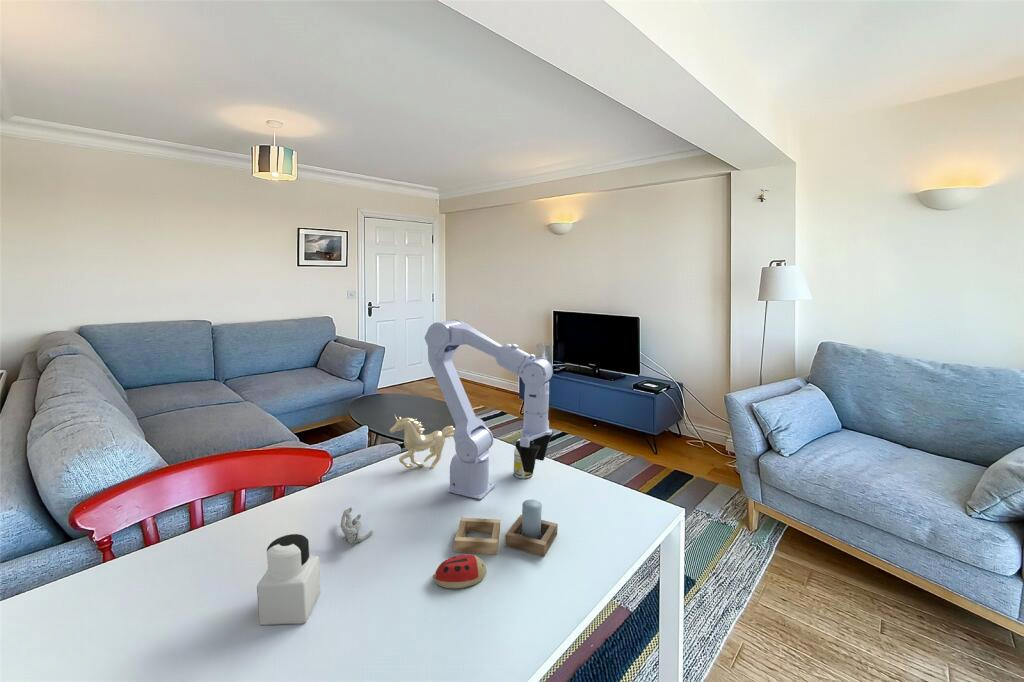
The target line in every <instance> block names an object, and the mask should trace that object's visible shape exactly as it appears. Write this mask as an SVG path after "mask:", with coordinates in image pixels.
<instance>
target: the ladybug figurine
mask: <svg viewBox="0 0 1024 682" xmlns="http://www.w3.org/2000/svg"><path fill="white" fill-rule="evenodd" d="M486 575H487V567H486V564H485V562H484V561H483V559H482V558H481V557H479V556H477V555H473V554H458V555H454V556H451V557H449V558H447V559H445V560H444V561H442V562H441V563H440V564H439V565H438V567H437V568H436V571H435V573H433V575H432V578H433V580H434V582H435V583H436V584H437V585H438V586H440V587H442V588H446V589H463V588H468V587H470V586H471V587H472V586H473V585H476V584H478V583H480V582H482V581H483V579H484V578H485V577H486Z"/></svg>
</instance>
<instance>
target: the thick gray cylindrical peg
mask: <svg viewBox="0 0 1024 682" xmlns="http://www.w3.org/2000/svg"><path fill="white" fill-rule="evenodd" d="M542 509H543V504H542V502H540V501H539V500H537V499H526V500H525V501H523V502H522V511H521V512H522V513H521V515H522V532H521V535H523V536H527V537H530V538H534V539H538V540H541V539H542V538H541V537H542V534H541V520H542V512H543V511H542Z"/></svg>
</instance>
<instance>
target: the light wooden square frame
mask: <svg viewBox="0 0 1024 682" xmlns="http://www.w3.org/2000/svg"><path fill="white" fill-rule="evenodd" d="M467 533H482V534H483V533H484V534H485V533H487V534H491V538H485V537H484V538H483V537H469V536H468V537H467V536H466V534H467ZM500 534H501V519H499V518H496V519H494V518H481V517H480V518H478V517H477V518H476V517H460V521H459V524H458V528H457V532H456V535H455V538H454V549H453V550H454V551H453V552H454V553H464V554H465V553H468V554H482V555H483V554H484V555H485V554H486V555H498V548H499V542H500Z"/></svg>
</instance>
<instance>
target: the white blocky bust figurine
mask: <svg viewBox="0 0 1024 682" xmlns="http://www.w3.org/2000/svg"><path fill="white" fill-rule="evenodd" d="M309 545H310V543H309V539H308V538H307V536H305V535H303V534H298V533H293V534H286V535H283V536H280V537H278V538H276V539H274V540H273V541H272V542H271V543H270V544H269V545H268V546H267V548H266V559H267V561H266V562H267V570H266V571H265V572H264V574H263V576H262V577H261V578H260V580H259V582H258V583H257V584H256V592H257V593H256V594H257V606H258V618H259V619H258V622H259V625H261V626H271V625H272V626H273V625H274V626H275V625H295V624H296V625H297V624H306V623H307V622H308V619H309V617H310V615H311V613H312V611H313V609H314V607H315V605H316V603H317V600H318V598H319V596H320V594H321V578H320V557H319V556H318V555H310V546H309Z"/></svg>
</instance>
